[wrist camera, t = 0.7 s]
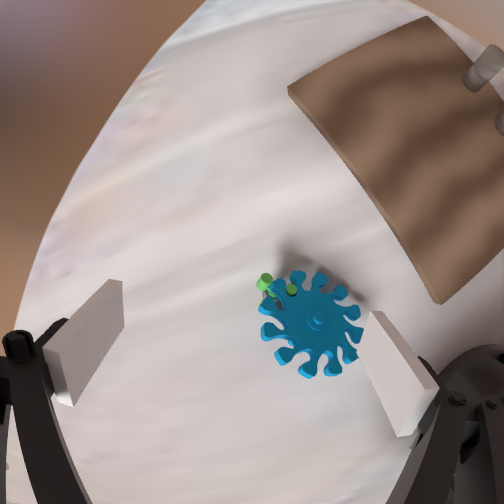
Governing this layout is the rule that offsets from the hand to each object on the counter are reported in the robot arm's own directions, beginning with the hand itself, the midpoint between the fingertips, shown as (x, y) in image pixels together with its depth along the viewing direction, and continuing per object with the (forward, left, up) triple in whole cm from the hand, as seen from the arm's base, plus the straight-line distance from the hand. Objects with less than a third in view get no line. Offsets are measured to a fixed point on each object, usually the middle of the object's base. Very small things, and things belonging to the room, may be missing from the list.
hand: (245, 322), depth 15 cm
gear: (-4, -2, -15) cm, 16 cm away
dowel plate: (+2, -24, -15) cm, 28 cm away
